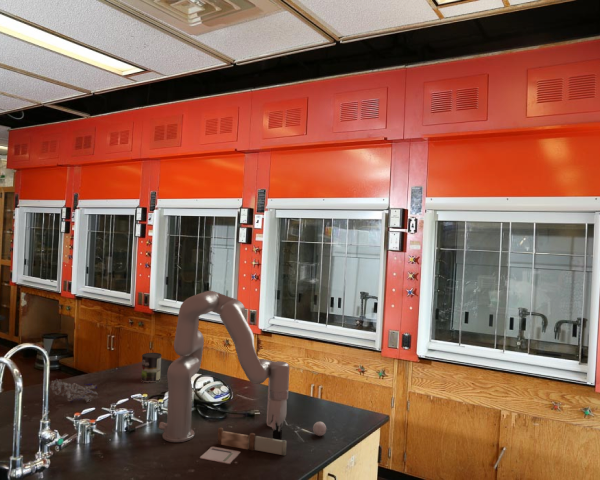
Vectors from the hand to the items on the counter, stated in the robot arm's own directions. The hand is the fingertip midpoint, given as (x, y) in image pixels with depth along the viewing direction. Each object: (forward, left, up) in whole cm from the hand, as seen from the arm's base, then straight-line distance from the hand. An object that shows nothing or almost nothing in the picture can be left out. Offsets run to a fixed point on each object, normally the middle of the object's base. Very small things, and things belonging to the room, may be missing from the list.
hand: (277, 439), depth 192 cm
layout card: (-17, -15, -3) cm, 23 cm away
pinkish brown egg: (+14, +18, -3) cm, 23 cm away
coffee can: (-91, +52, -3) cm, 105 cm away
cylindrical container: (-8, +21, -3) cm, 23 cm away
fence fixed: (-15, -6, -3) cm, 16 cm away
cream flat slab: (-1, -6, -2) cm, 6 cm away
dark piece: (-105, +10, -3) cm, 106 cm away
